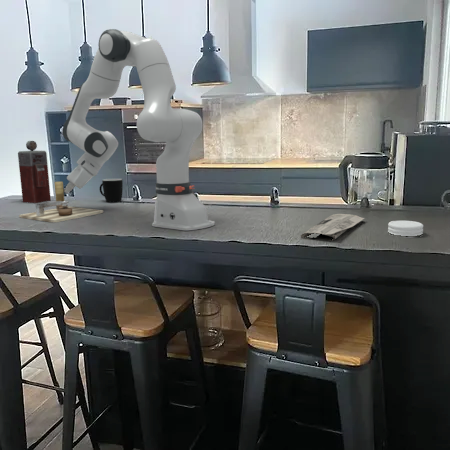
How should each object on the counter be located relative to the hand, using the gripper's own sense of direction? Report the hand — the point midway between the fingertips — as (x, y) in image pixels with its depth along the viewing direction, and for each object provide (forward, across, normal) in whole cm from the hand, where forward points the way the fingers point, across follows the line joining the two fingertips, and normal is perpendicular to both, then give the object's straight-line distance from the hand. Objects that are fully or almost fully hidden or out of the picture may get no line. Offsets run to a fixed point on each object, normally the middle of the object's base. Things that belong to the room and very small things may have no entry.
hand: (65, 192), depth 190 cm
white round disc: (-54, +96, +67) cm, 129 cm away
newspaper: (-44, +80, +57) cm, 108 cm away
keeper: (+9, +11, +1) cm, 14 cm away
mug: (-9, -20, +22) cm, 31 cm away
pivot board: (+7, +7, +3) cm, 11 cm away
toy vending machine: (+12, -37, +1) cm, 39 cm away
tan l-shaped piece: (+6, +7, +3) cm, 10 cm away
